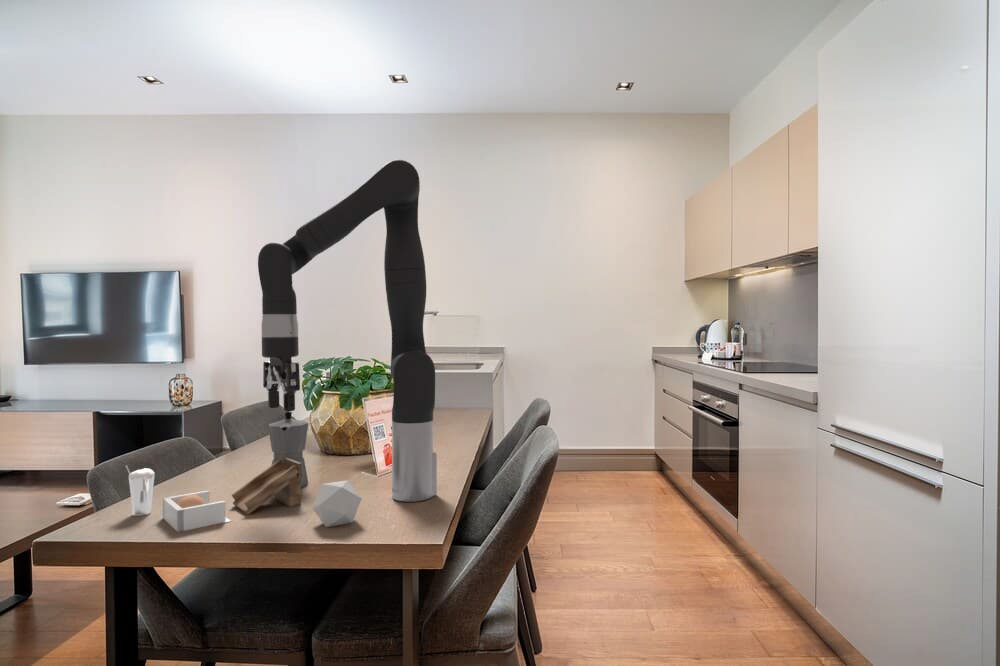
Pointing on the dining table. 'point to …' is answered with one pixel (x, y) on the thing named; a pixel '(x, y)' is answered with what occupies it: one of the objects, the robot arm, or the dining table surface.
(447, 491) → the dining table surface
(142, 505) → the milkshake
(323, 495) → the die
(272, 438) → the coffeepot
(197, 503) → the ball
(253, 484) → the ramp
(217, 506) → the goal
